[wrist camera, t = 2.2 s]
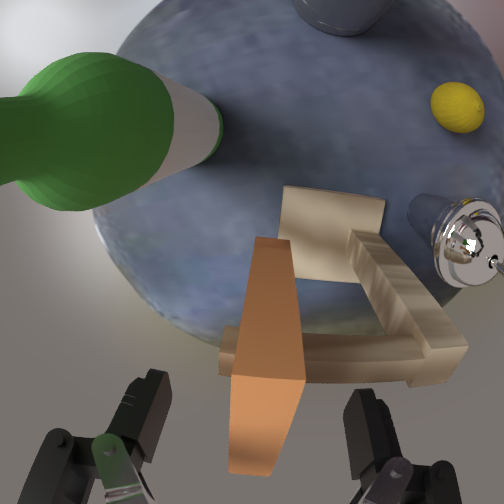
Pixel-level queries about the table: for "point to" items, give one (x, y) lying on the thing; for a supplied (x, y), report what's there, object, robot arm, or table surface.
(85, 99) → the wine bottle
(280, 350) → the c link
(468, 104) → the lemon
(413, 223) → the cup with straw
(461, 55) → the table surface
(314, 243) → the hook stand
